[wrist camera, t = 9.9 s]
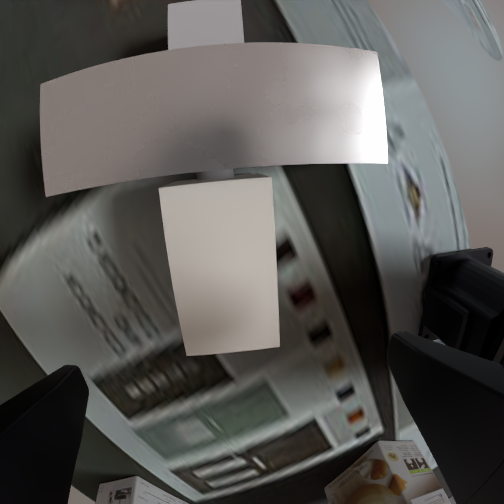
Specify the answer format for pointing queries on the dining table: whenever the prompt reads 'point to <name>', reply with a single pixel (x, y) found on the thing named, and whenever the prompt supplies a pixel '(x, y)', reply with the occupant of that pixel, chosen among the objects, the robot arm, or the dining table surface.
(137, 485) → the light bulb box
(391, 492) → the coffee box
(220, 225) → the plug
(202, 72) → the white block
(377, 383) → the dining table surface
